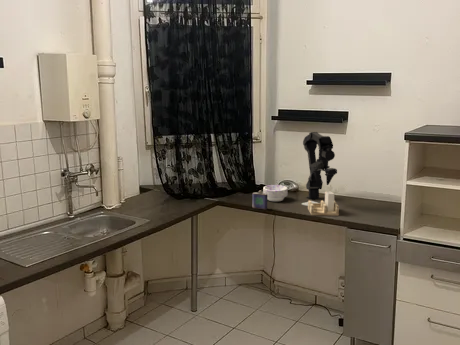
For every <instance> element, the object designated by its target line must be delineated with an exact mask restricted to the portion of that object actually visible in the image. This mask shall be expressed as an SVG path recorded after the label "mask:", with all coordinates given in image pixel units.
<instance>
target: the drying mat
mask: <svg viewBox="0 0 460 345" xmlns="http://www.w3.org/2000/svg"><path fill="white" fill-rule="evenodd" d="M311 202H312V203H318V202H317V201H314V200H311ZM301 205H302V206H306V207H308V201H306V202H302V203H301Z"/></svg>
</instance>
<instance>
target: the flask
mask: <svg viewBox="0 0 460 345" xmlns="http://www.w3.org/2000/svg"><path fill="white" fill-rule="evenodd" d="M262 190H263V189H261V190H258V192H252V209H257V210H258V209H260V210H268V200H267V194H265V193H263V191H262Z"/></svg>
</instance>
